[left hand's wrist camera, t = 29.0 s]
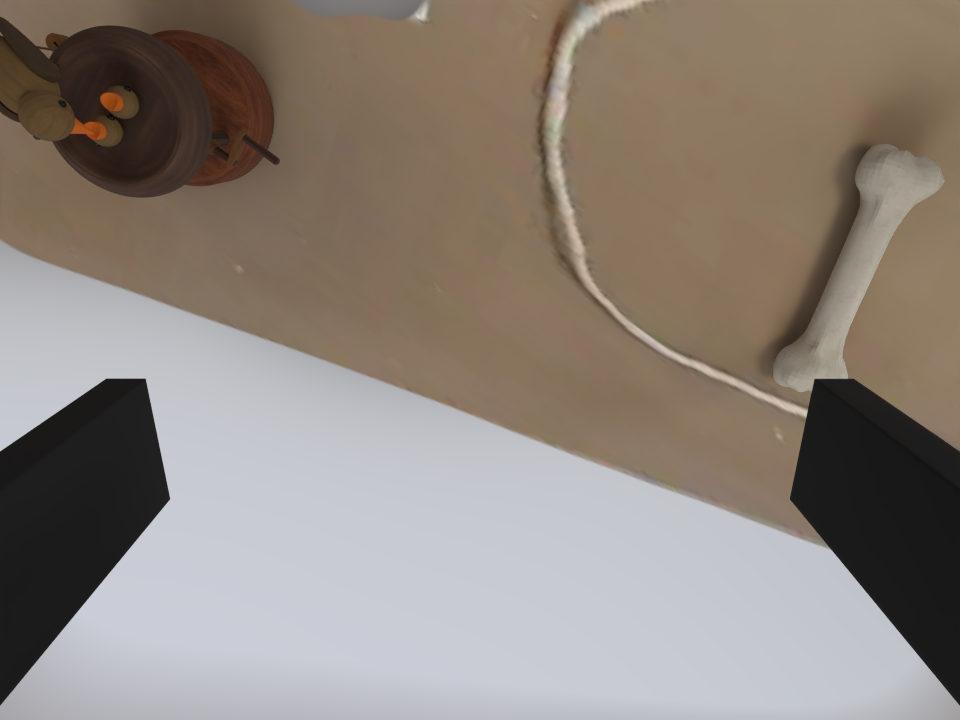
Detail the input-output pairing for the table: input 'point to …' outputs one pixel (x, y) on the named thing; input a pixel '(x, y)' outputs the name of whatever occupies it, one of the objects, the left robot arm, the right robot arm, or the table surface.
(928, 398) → the table surface
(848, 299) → the dog toy
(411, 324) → the table surface
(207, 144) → the brown wooden figurine
